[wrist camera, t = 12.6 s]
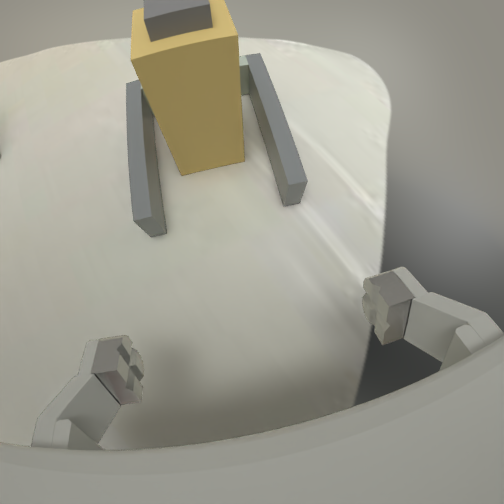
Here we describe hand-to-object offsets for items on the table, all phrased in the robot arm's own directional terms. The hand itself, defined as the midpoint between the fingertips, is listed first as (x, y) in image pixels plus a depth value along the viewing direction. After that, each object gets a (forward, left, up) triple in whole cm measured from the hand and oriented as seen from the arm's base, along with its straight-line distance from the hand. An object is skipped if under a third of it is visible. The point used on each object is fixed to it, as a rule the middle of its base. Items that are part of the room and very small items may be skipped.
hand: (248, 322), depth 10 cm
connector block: (0, +12, -7) cm, 14 cm away
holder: (0, +11, -7) cm, 13 cm away
